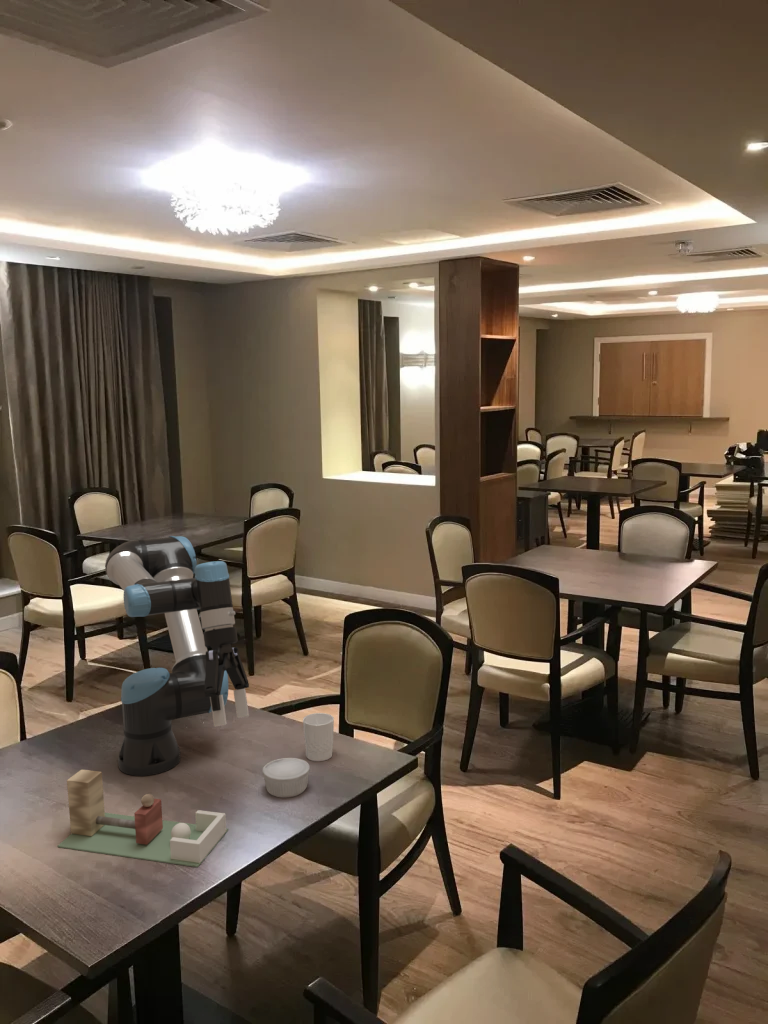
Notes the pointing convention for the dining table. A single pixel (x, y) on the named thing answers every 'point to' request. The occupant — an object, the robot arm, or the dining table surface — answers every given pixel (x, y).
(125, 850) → the pitch
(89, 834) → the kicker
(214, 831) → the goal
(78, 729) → the dining table surface
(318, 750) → the white cup
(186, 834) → the ball
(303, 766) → the ramekin
